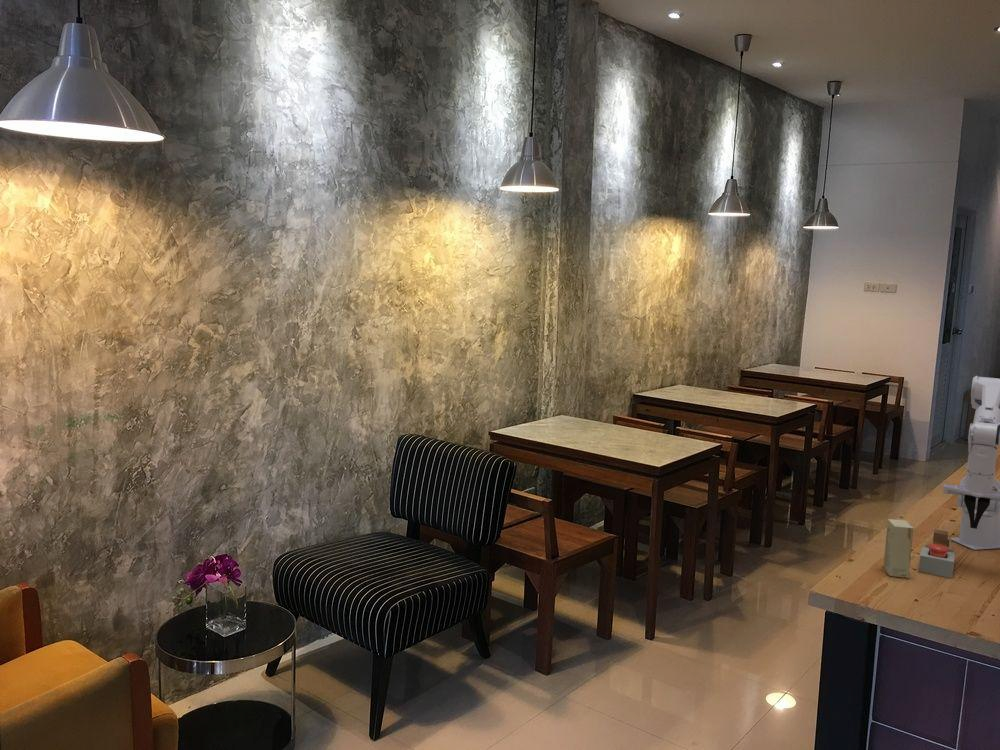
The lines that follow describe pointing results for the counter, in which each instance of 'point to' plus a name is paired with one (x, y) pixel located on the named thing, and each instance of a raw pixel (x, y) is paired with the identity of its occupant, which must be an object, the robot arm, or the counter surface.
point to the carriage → (940, 538)
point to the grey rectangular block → (936, 563)
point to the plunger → (938, 550)
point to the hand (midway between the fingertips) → (973, 527)
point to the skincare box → (898, 548)
